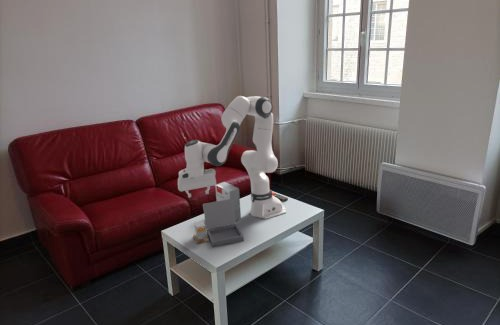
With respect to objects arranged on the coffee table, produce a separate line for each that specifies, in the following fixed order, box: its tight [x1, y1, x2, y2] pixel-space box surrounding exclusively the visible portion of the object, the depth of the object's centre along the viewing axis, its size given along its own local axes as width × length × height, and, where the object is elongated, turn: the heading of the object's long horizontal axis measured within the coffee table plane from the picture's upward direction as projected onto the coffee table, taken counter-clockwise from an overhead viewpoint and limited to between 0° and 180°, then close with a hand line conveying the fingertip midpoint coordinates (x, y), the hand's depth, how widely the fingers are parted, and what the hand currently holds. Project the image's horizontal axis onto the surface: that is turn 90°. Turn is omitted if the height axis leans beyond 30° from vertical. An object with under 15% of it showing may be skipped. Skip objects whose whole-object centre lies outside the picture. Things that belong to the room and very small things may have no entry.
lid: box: [202, 199, 237, 230], centre depth 204 cm, size 17×14×1 cm
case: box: [206, 224, 245, 248], centre depth 197 cm, size 17×14×3 cm
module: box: [194, 220, 208, 241], centre depth 196 cm, size 5×6×8 cm
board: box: [193, 233, 210, 245], centre depth 198 cm, size 7×9×1 cm
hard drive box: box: [214, 181, 242, 221], centre depth 220 cm, size 16×8×20 cm, turn 37°
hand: (198, 195), depth 194 cm, fingers open, 8 cm apart
